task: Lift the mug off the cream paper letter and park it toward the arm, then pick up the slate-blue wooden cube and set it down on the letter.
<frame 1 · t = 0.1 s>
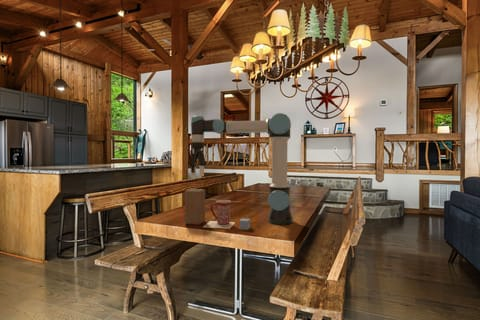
hand: (197, 177, 168), 28 cm above the table, fingers open, 13 cm apart
wooden block: (195, 222, 170), on the table
cube: (244, 228, 157), on the table
mug: (220, 223, 167), resting on letter
letter: (219, 224, 164), on the table
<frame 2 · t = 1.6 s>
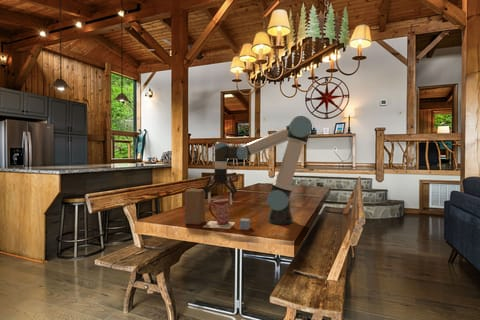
hand: (220, 203, 167), 12 cm above the table, fingers open, 13 cm apart
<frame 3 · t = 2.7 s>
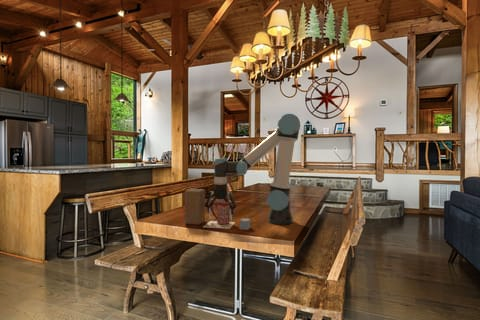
hand: (220, 219, 167), 3 cm above the table, fingers closed on mug, 12 cm apart
mug: (220, 223, 167), resting on letter, touching gripper
everything else where it was.
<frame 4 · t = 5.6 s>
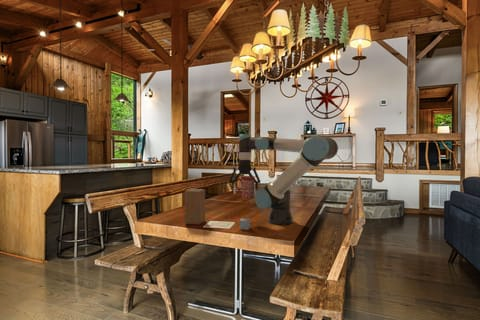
hand: (244, 194, 173), 17 cm above the table, fingers closed on mug, 12 cm apart
mug: (245, 198, 173), point 14 cm above the table, touching gripper
everything else where it was.
when the fingers open (3 cm above the table, at t = 8.7 s): mug drops 1 cm, on the table.
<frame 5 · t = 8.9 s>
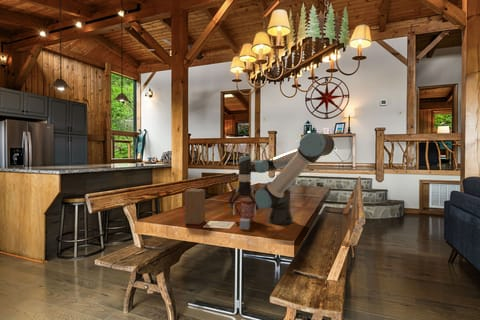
hand: (244, 215, 173), 4 cm above the table, fingers open, 13 cm apart
mug: (244, 221, 174), on the table
everything else where it was.
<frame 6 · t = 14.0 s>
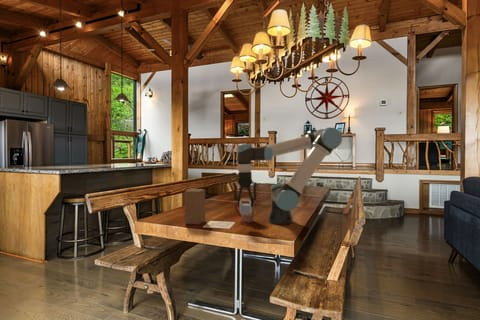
hand: (245, 212, 157), 9 cm above the table, fingers closed on cube, 5 cm apart
cube: (245, 213, 157), point 9 cm above the table, touching gripper
everything else where it was.
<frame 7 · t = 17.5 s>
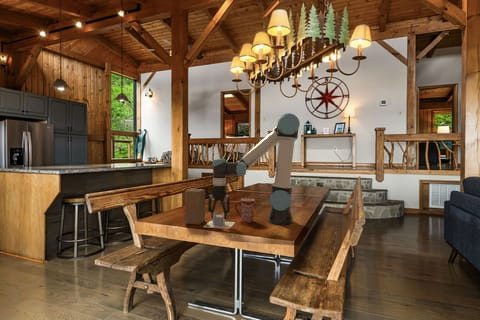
hand: (219, 223, 164), 1 cm above the table, fingers closed on cube, 5 cm apart
cube: (219, 224, 164), resting on letter, touching gripper
everything else where it was.
when the fingers open (1 cm above the table, at t = 17.5 s): cube stays where it is, resting on letter.
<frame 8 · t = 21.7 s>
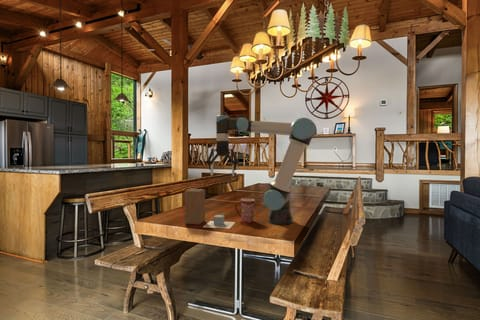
hand: (222, 175, 170), 29 cm above the table, fingers open, 13 cm apart
cube: (219, 224, 164), resting on letter
everything else where it was.
at the end: cube inside the target area on the letter (0.2 cm from its centre), point 0.2 cm above the letter's base; mug inside the target area (2.3 cm from its centre), on the table; cube tilted 0° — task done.
